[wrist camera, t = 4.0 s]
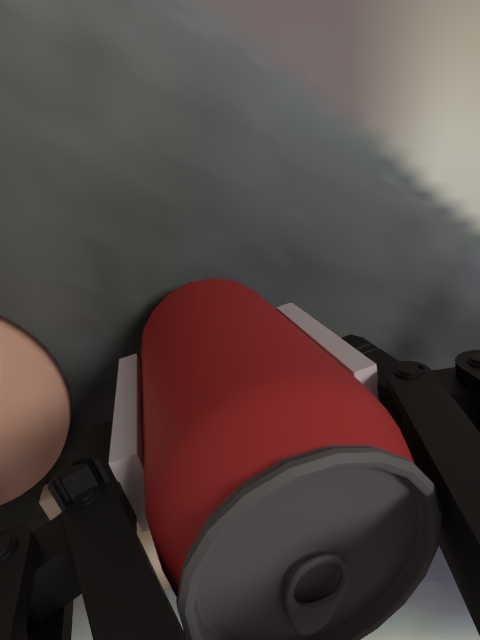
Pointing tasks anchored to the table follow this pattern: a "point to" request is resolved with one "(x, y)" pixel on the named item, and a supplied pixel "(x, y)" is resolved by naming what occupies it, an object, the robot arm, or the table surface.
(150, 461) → the beer can
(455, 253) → the table surface
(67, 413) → the coaster
